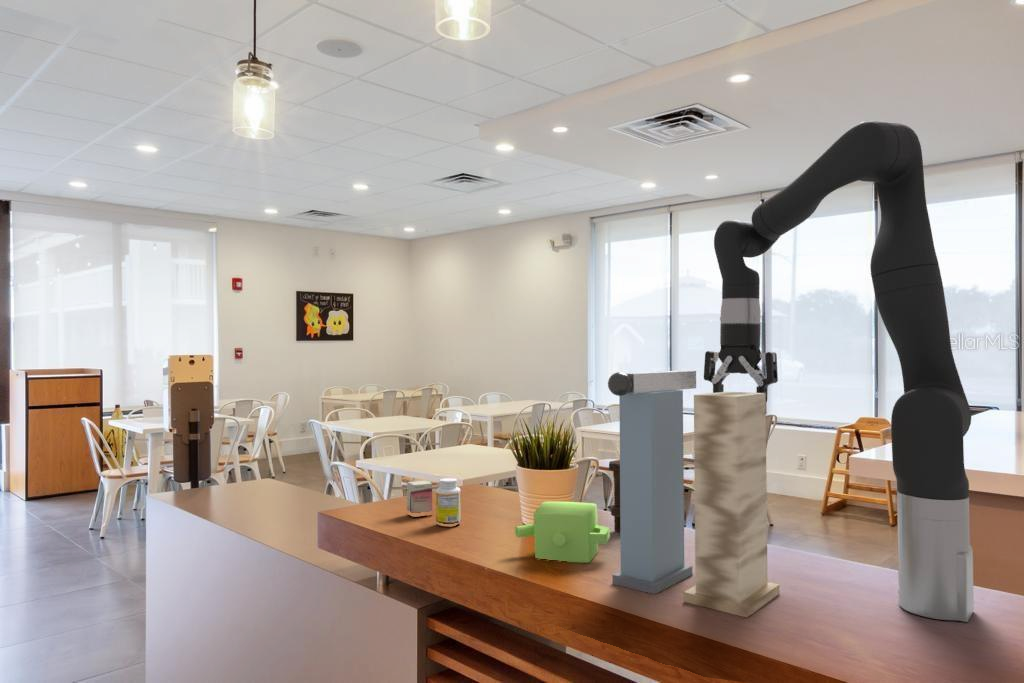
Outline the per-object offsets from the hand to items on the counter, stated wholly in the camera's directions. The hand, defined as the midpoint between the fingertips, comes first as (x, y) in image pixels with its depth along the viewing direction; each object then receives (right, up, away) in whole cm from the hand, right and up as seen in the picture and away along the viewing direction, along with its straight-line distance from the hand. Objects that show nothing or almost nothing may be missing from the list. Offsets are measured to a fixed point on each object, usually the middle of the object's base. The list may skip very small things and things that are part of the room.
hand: (739, 404), depth 137 cm
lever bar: (-20, +4, -18) cm, 27 cm away
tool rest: (-10, -28, -28) cm, 41 cm away
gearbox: (-36, -29, -5) cm, 46 cm away
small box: (-67, -29, +29) cm, 79 cm away
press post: (-21, -28, -19) cm, 40 cm away
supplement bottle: (-59, -29, +19) cm, 69 cm away
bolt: (-21, -29, +13) cm, 38 cm away
